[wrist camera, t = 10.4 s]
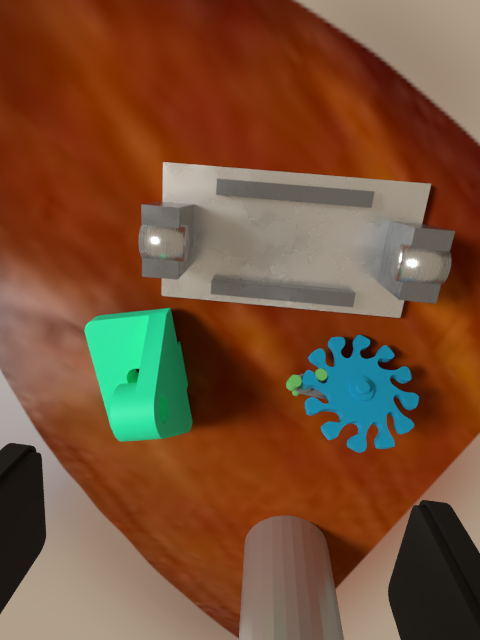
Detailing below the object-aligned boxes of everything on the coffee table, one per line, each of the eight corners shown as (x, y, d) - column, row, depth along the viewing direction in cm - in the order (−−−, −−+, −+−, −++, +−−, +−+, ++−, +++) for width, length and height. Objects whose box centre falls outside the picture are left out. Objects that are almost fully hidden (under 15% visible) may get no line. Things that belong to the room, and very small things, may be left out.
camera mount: (94, 312, 36) (31, 359, 26) (173, 304, 35) (138, 349, 25) (122, 421, 40) (76, 497, 30) (194, 416, 39) (171, 492, 29)
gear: (421, 345, 34) (425, 462, 29) (390, 367, 39) (389, 470, 34) (299, 318, 33) (283, 432, 29) (284, 344, 39) (270, 444, 34)
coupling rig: (397, 315, 34) (430, 346, 27) (163, 293, 34) (139, 318, 28) (427, 183, 30) (473, 182, 23) (165, 162, 31) (137, 155, 24)
